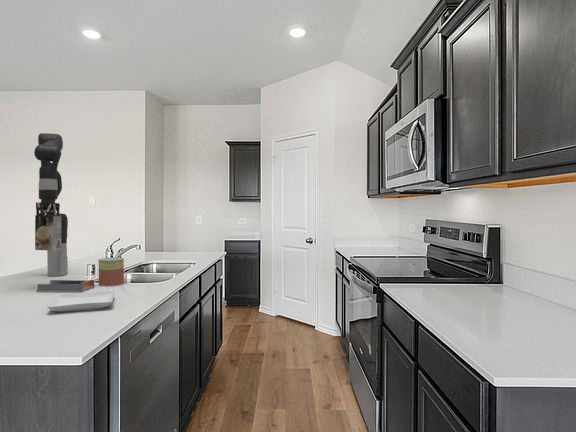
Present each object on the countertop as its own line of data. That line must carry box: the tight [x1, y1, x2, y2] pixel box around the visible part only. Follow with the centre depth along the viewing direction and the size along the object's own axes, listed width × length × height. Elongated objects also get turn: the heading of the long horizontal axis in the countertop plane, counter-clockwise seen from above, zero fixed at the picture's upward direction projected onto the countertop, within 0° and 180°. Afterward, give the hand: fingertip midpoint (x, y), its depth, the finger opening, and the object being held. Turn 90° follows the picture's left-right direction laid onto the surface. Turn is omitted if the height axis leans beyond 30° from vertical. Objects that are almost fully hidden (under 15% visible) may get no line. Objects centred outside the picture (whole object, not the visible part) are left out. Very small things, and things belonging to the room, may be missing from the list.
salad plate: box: [47, 290, 115, 313], centre depth 158 cm, size 21×21×3 cm
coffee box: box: [34, 215, 61, 251], centre depth 191 cm, size 9×6×16 cm
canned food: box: [98, 257, 125, 287], centre depth 200 cm, size 11×11×12 cm
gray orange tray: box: [36, 279, 96, 294], centre depth 187 cm, size 12×20×4 cm, turn 88°
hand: (48, 225), depth 191 cm, fingers closed on coffee box, 6 cm apart
